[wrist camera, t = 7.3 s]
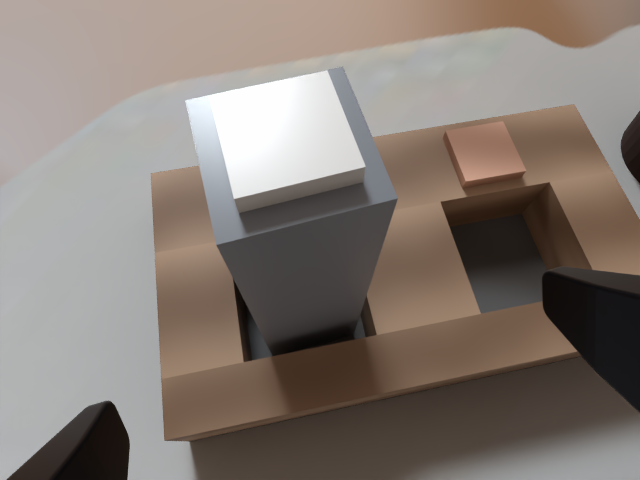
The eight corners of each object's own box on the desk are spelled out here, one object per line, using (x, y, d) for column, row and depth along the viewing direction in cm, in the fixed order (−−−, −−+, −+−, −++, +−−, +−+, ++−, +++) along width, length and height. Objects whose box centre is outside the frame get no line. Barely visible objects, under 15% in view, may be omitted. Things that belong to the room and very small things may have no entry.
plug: (353, 334, 21) (402, 183, 9) (273, 357, 21) (209, 232, 9) (330, 260, 23) (344, 47, 11) (254, 280, 23) (178, 81, 10)
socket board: (643, 342, 22) (710, 321, 18) (189, 441, 20) (159, 440, 16) (543, 145, 27) (580, 96, 23) (172, 208, 25) (146, 166, 21)
